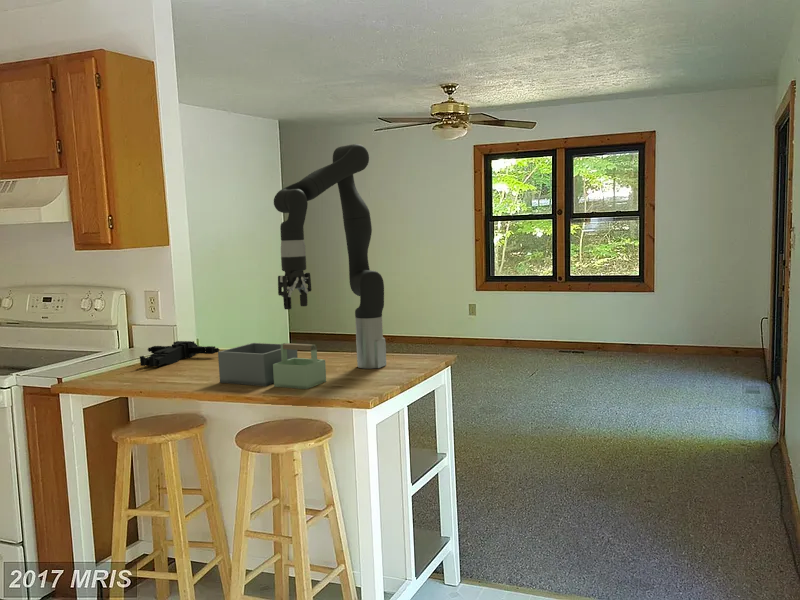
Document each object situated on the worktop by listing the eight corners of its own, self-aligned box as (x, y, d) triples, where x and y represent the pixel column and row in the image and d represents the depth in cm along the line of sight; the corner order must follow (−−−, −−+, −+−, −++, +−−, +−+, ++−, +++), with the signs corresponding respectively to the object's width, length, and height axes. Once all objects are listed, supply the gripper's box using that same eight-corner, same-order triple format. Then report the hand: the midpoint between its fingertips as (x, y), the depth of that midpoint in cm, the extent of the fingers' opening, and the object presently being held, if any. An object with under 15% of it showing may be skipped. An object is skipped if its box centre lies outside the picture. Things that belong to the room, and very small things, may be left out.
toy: (109, 354, 262) (157, 338, 290) (111, 371, 263) (159, 353, 291) (184, 355, 253) (226, 338, 282) (185, 373, 254) (227, 354, 283)
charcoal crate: (298, 374, 238) (296, 344, 237) (265, 386, 222) (263, 354, 221) (254, 371, 246) (253, 342, 245) (219, 382, 230) (217, 351, 229)
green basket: (326, 381, 226) (324, 342, 224) (306, 389, 216) (304, 348, 215) (294, 379, 231) (292, 340, 230) (274, 386, 221) (271, 346, 220)
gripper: (289, 256, 212) (292, 310, 213) (316, 253, 224) (319, 305, 226) (269, 256, 215) (272, 310, 217) (296, 254, 228) (299, 305, 229)
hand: (296, 307), depth 221 cm, fingers open, 8 cm apart
